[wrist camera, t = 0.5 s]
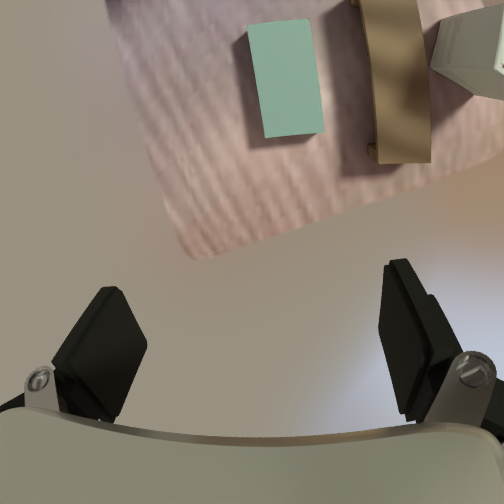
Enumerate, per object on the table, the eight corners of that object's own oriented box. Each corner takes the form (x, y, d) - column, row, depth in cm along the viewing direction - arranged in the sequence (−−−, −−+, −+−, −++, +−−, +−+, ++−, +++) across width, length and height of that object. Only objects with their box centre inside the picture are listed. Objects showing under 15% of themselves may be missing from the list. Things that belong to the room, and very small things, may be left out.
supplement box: (474, 96, 26) (543, 114, 15) (427, 67, 25) (492, 68, 14) (487, 48, 22) (556, 50, 11) (440, 16, 21) (504, 0, 11)
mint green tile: (248, 29, 26) (246, 25, 24) (306, 23, 25) (308, 18, 23) (266, 134, 32) (265, 138, 30) (321, 129, 31) (324, 132, 29)
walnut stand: (348, -4, 22) (357, -14, 19) (400, 0, 21) (414, -8, 18) (367, 154, 31) (378, 164, 28) (415, 153, 31) (430, 162, 27)
